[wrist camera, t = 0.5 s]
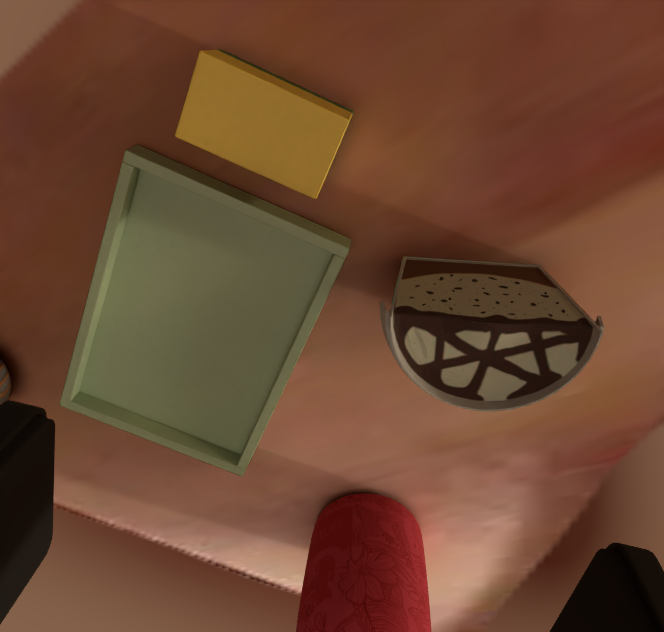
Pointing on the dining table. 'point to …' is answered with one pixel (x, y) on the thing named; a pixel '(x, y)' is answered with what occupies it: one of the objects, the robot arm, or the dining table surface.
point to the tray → (197, 310)
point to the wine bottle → (365, 569)
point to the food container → (486, 332)
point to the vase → (4, 383)
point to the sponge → (262, 121)
